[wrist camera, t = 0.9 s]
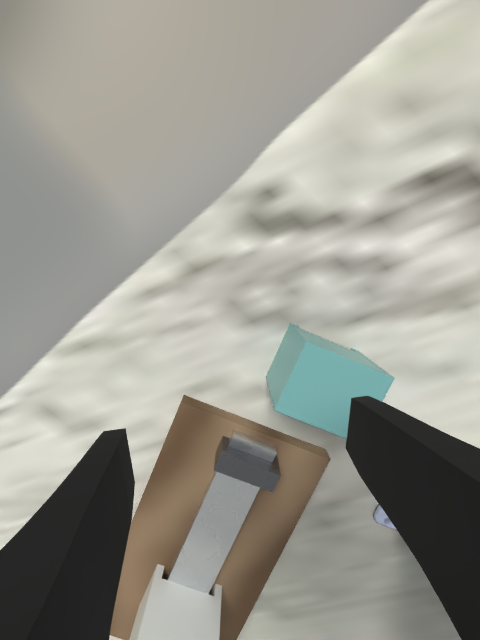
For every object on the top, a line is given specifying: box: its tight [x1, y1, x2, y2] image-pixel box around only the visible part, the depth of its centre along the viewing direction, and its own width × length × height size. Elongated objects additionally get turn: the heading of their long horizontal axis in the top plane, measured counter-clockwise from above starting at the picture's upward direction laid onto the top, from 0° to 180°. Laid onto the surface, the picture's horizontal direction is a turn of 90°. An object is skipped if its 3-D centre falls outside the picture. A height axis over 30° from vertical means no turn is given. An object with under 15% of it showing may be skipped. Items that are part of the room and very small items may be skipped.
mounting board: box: [110, 395, 330, 640], centre depth 26 cm, size 12×22×1 cm, turn 157°
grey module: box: [129, 564, 222, 640], centre depth 23 cm, size 6×4×6 cm
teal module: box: [266, 323, 394, 439], centre depth 21 cm, size 6×4×6 cm
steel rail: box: [165, 429, 281, 594], centre depth 24 cm, size 4×21×2 cm, turn 157°
